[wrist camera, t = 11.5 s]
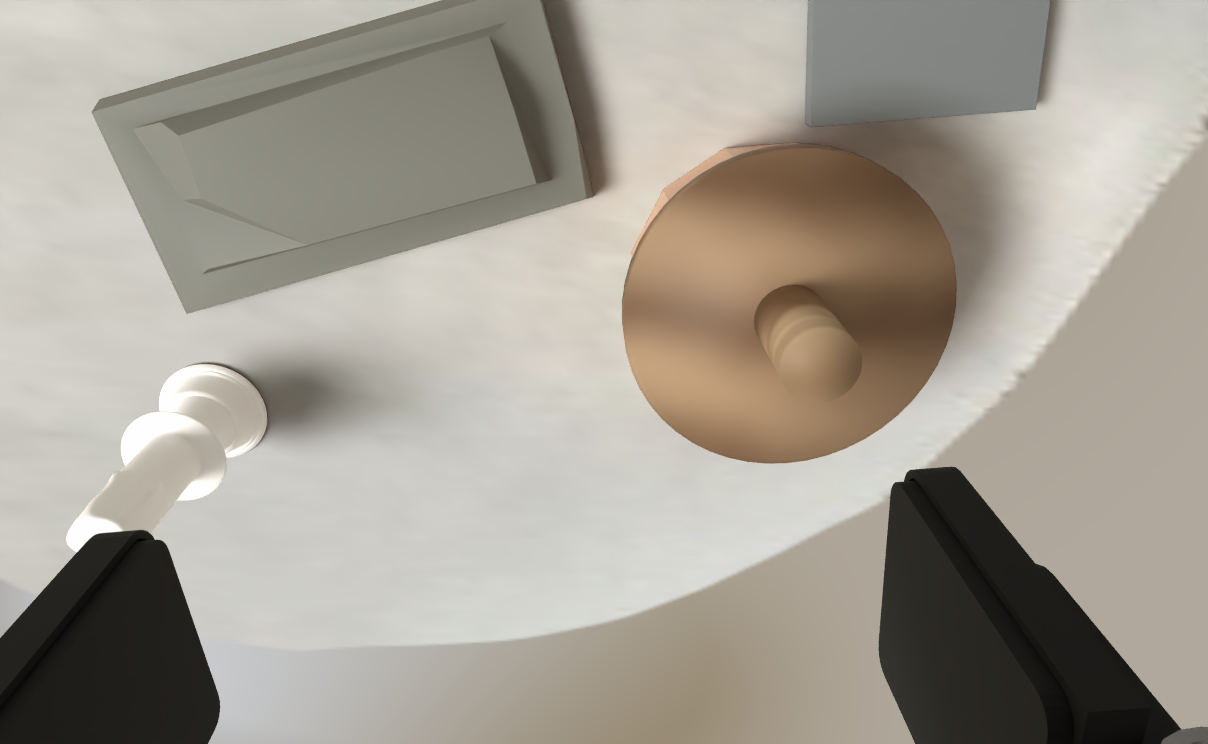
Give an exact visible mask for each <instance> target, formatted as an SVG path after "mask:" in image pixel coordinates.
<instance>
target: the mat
mask: <svg viewBox="0 0 1208 744" xmlns="http://www.w3.org/2000/svg"><path fill="white" fill-rule="evenodd" d="M1049 7H1050V0H808V25H807V64H806V102H805V124H806V125H808V126H810V127H818V126H831V125H843V124H856V123H869V122H882V121H895V120H907V119H920V118H933V117H946V116H959V115H972V114H984V113H997V112H1010V111H1023V110H1036V104H1037V97H1038V89H1039V82H1040V75H1041V67H1042V60H1043V52H1044V45H1045V37H1046V30H1047V22H1048V15H1049Z"/></svg>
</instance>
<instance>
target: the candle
mask: <svg viewBox="0 0 1208 744" xmlns="http://www.w3.org/2000/svg"><path fill="white" fill-rule="evenodd" d="M159 409H160V411H159V412H152V413H149V414H146V415H143V416H141V417H139V418H138V419H136V420H135V421H133V422H132V423H131V424H130V425H129V427H128V428H127V429H126V431H125V433H124V435H123V438H122V442H121V453H122V458H123V461H124V464H125V467H124V468H123V469H122V470H121V471H118V472H115V473H114V474H113V475H112V476H111V478H110V480H109V482H108V484H107V485H106V487H105V488H104V489H103V490H102V491H101V492H100V493H99V494H98V495H97V496H96V497H95V498H94V499H92V500H91V502H90V503H89V504H88V505H87V507H86V508H85V509H84V511H83V512H82V513H81V514H80V515H79V516H78V518H77V519H76V520H75V522H74V523H73V525H72V526H71V528H70V529H69V531H68V533H67V544H68V545H69V547H70V548H72V549H73V550H75V551H76V552H78V551H79V550H80V549H81V547H82V546H83V545H84V544H85V543H86V542H87V541H88V540H89V539H90V538H91V537H92V536H94V535H95V534H99V533H106V532H119V531H132V530H145V531H148V532H149V533H151V532H152V531H153V530H154V528H155V527H156V526H157V525H158V523H159V522H160V521H161V519H162V518H163V517H164V516H165V514H166V513H167V512H168V511H169V509H170V508H171V507H172V506H173V504H174V503H175V502H176V501H177V500H193V499H198V498H201V497H204V496H206V495H208V494H210V493H211V492H213V491H214V490H215V489H216V488H217V487H218V486H219V485H220V484H221V482H222V480H223V478H224V476H225V473H226V468H227V459H226V458H229V457H235V456H238V455H241V454H244V453H246V452H248V451H249V450H251V449H252V448H254V447H255V446H256V445H257V444H258V443H259V441H260V440H261V439H262V437H263V435H264V433H265V430H266V426H267V411H266V407H265V404H264V401H263V399H262V397H261V395H260V394H259V392H258V391H257V389H256V388H255V387H254V386H253V385H252V384H251V383H250V382H249V381H248V380H247V379H246V378H244V377H243V376H241V375H240V374H238V373H236V372H235V371H233V370H230V369H228V368H225V367H222V366H218V365H212V364H197V365H192V366H188V367H185V368H183V369H181V370H179V371H177V372H175V373H174V374H173V375H172V376H171V377H170V378H169V379H168V380H167V381H166V382H165V384H164V386H163V388H162V390H161V393H160V398H159Z"/></svg>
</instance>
